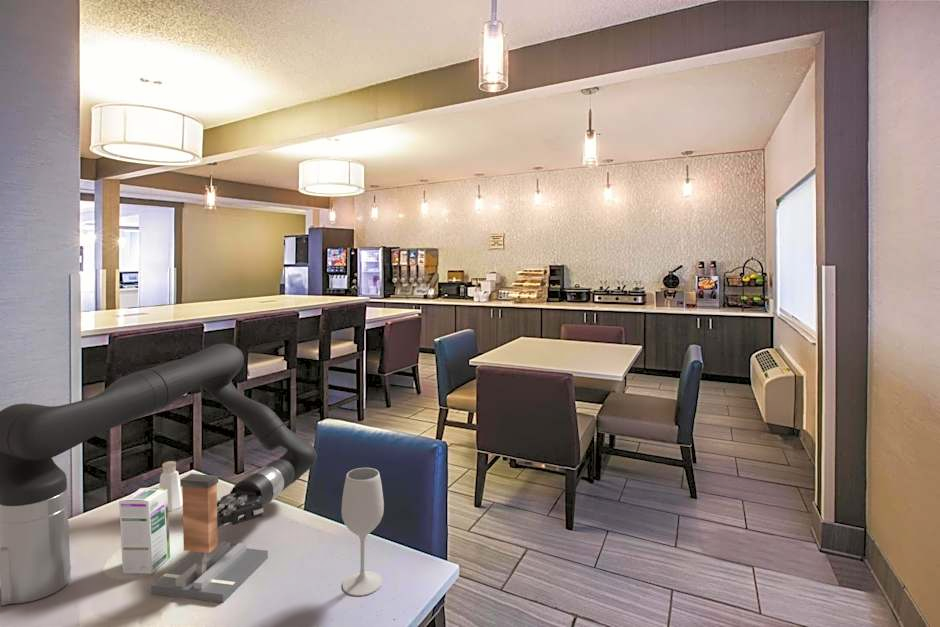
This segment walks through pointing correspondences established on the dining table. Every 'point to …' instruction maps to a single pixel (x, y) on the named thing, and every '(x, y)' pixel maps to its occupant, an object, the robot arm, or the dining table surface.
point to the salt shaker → (171, 485)
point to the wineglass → (362, 522)
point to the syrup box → (144, 530)
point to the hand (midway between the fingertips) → (204, 528)
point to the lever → (200, 516)
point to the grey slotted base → (211, 573)
